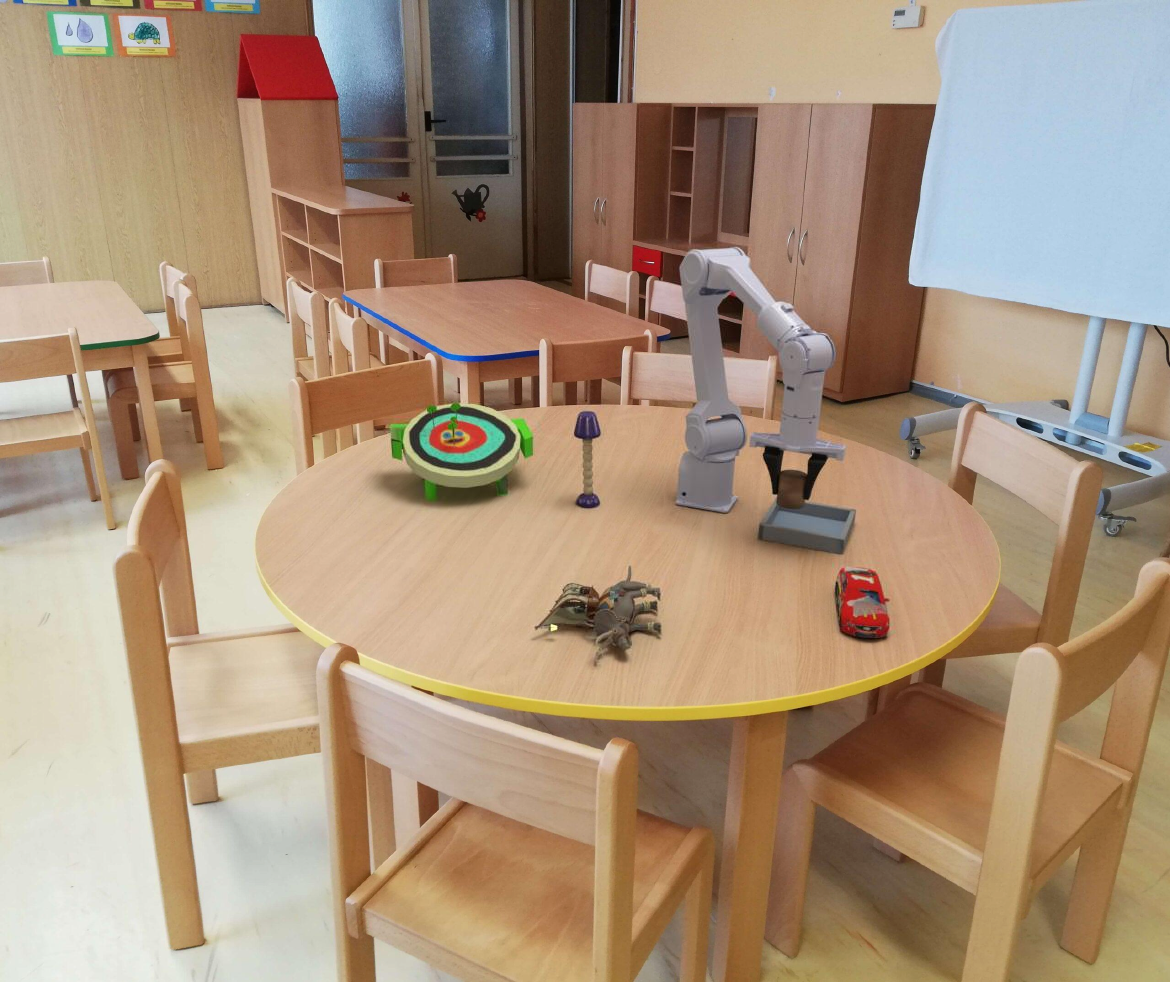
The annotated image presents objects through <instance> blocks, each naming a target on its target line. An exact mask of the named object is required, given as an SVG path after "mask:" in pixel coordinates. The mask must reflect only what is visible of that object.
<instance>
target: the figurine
mask: <svg viewBox="0 0 1170 982" xmlns="http://www.w3.org/2000/svg"><path fill="white" fill-rule="evenodd" d="M627 573H628V574H627V577H626V579H625V580H621V581H619V582H618V583H616V584H612V585H610V586H609V587H607V588H606V589H605V590H604V591H603V592H602V593H601V595H600V593H598V591H597V590H596V588H594V585H593V584H592V586H586V585H583V584H580V583H575V582H570V583H567V584H566V585H565V586H563V588H562V589H561V590H562V593H561V594H560V596H559V597H558V599H557V600H555V601H554V602H555V603H554V605H553V606H552V608H551V609H549V613H548V614H547V615H546V616H545V618H543V620H541V622H539V624H538V625H536V626H534V630H535V631H537V630H538V629H540V630H542V629H549V631H550V632H554V631H557V630H559V628H560V627H559V626H566V627H576V628H579V629H581V628H583V627H584V628H586V627H587V630H586V633H588V631H589V628H590V627H591V628H593V629H592V631H593V632H594V633H595V635H596V636H597V637H596V638H595V641H594V642H595V647H598V649H597V650H596V652H595V656H594V662H595V665H597V663H599V662H601V661H602V660H603V658H604V652H603V651H604V650H605V648H607V647H608V646H609V645H610V644H612V645H613V646H618V647H619V648H620V649H622V650H623V651H627V650H629V649H631V648H632V646H633V644H632V643H633V642H632V640H631V638H630V636H629V633H630V632H635V631H649V632H657V633H658V634H659V635H660V636H662V635H663V634H662V622H654V621H651V622H648V623H637V622H634V621H635V616H637V614H638V613H641V612H642V611H643V612H648V611H650V610H652V611H655V613H659V604H658V603H659V602H661V600H662V599H661V598H662V597H661V594H662V592H661V588H660V587H653V586H654V585H653V583H652V584H651V583H650V582H649V583H645V582H640V581H633V580H632V566H631V565H628V571H627ZM631 580H632V581H631ZM647 595H652V597H657V600H658V601H657V600H654V601H653V600H652V601H648V600H644V601H642V602H641V603H638V604H636V601H635V599H638V598H642V599H644V598H647ZM603 639H605V641H603V643H601V645H600V644H599V643H598V642H601V640H603ZM600 654H602V655H601V656H602V657H601V659H598V657H599V655H600Z"/></svg>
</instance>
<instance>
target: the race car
mask: <svg viewBox="0 0 1170 982" xmlns="http://www.w3.org/2000/svg"><path fill="white" fill-rule="evenodd" d="M882 587H883V586H882V582H881V580H880V578H879V575H878V573H877V571H875V570H872V569H870V568H867V567H859V566H844V567H842V568H841V569H840V570H839V572H838V574H837V577H836V579H835V587H834V595H835V603H836V610H837V618H838V619H837V620H838V623H839V624H838V627H839V631H840V632H844V633H846V634H847V635H851V636H855V637H859V638H866V639H880V638H884V637H885V636H886V637H887V636H888V634H889V630H890V616H889V614H888V613H889V612H888V607H887V602H890V601H891V600H890V598H887V597H885V595H884V592H883V588H882Z"/></svg>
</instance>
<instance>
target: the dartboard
mask: <svg viewBox="0 0 1170 982" xmlns="http://www.w3.org/2000/svg"><path fill="white" fill-rule="evenodd" d="M389 430H390V443H391V444H390V445H391V458H392V459H396V460H399V461H403V457H404V460H405V461H406V462H405V463H406V465H407V466H408V467H409V468H410V469H411V470H412V471H413V472H414V474H416V475H417V476H419V477H421V478H422V480H423V482H424V492H425V493H424V496H425V497H424V498H425V500H427V501H434V500H437V499H438V489H437V486H438V485H440V486H443V487H448V488H465V489H466V488H474V487H479V486H480V487H481V486H486V485H488V484H491V483H493V482H494V483H495V482H496V485H495V487H496V488H495V489H496V495H497V496H499V497H506V496H507V495H509V494H508V491H509V490H508V489H509V487H508V486H509V484H508V483H509V482H508V474H509V473H510V472H511V471H512V470H513V469H514V468H515V466H516V464H517V463H518V461H519V458H520V452H521V453H522V455H523V457H524V459H525V460H526V459H528V458H530V457H531V456H532V457H533V456H534V435H533V433H532V431H531V429H530V428H529V426H528V424H527V421H526V420H525V419H524V418H509V417H508V416H507V415H506V414H504V413H502V412H500V411H497V410H496V409H494V408H492V407H488V406H483V405H479V404H477V403H461V402H460V403H459V402H456V401H455V402H454V403H449V404H448V403H447V404H439V405H437V406H436V405H434V404H433V403H431V405H428V407H427V408H426V410H423V411H422V412H420V413H419V414H418V415H417V416H415V417H413V418H412V419H411V420H410V422H409V423H393V424H391V423H390V424H389Z"/></svg>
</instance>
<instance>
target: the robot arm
mask: <svg viewBox="0 0 1170 982" xmlns="http://www.w3.org/2000/svg"><path fill="white" fill-rule="evenodd" d="M678 269H679V277H680V284H681V291H682V298H683V302H684V307H685V314H686V324H687V331H688V339H689V348H690V354H691V355H690V356H691V363H692V364H691V365H692V370H693V378H694V385H695V393H696V394H695V395H696V400H697V402H696V404H695V405H694V406H693V407H692V409H690V410H689V411H688V413H687V414H686V416H685V421H686V422H685V423H686V424H685V425H686V426H685V427H686V428H685V433H684V442H685V446H686V448H687V450H686V451H684V452H683V454H682V455H681V457H680V461H679V467H678V475H677V476H678V477H677V493H676V501H675V505H679V506H682V507H683V506H684V507H688V508H689V507H690V508H695V509H701V510H702V509H703V510H706V511H712V512H718V513H725V514H726V513H728V512H730V510H731V508H732V507H733V506H734V505H735V503H736V502H737V500H738V499H739V496H738V495H736V494H733V488H734V479H735V477H734V475H735V467H736V466H735V465H736V457H739V456H740V451H741V450H743V448H745V446H746V444H747V440H748V429H747V426H746V423H745V421H744V419H743V415H742V409H741V408H740V406H739V405H737V404H736V403H734V402H733V401H732V400H731V399H729V393H728V385H727V376H726V368H725V360H724V352H723V344H722V336H721V335H722V334H721V329H720V321H719V311H718V307H719V306H720V304H721V303H722V301H723V300H724V299H726V298H727V297H728V296H729V295H730V294H734V295H735V296H736V297H737V298H738V299H739V300H740V301H741V302H742V303H743V304H744V305H745V306H746V307H747V309H749V310H750V311H751V312H752V313H753V314H754V315H756V316H757V322H756V323H757V324H756V326H757V328H758V330H759V331H760V333H762V335H763V336H764V337H765V338H766V339H767V341H769V343H770V344H771V345H772V347H774V348H775V350H777V352H778V361H779V365H780V367H781V371H782V377H781V380H782V381H783V385H784V388H783V389H784V390H783V400H782V407H781V414H780V415H781V417H780V427H779V433H773V432H772V433H771V432H769V433H767V432H758V431H757V432H755V431H753V432H752V433H751V434H750V435H749V444H748V446H749V448H755V449H756V448H757V447H758V448H763V453H762V459H763V462H764V463H765V466H766V468H767V471H768V474H769V475H768V476H769V478H770V482H771V490H772V492H771V493H772V495H774V496H777V492H778V483H779V473H780V472H781V471H782V465H783V459H784V453H785V452H789V453H798V454H804V455H809V456H810V457H809V458H808V460H807V473H806V474H807V482H806V488H805V493H804V500H805V501H809V500H810V498H811V496H812V492H813V488H814V485H815V483H816V481H817V478H818V476H819V474H820V472H821V471H822V469H823V467H825V465H826V463H827V461H828V459H835V460H836V461H839V462H842V461H844V459H845V457H846V447H847V446H846V445H845V444H838V443H835V442H831V441H826V440H822V439H820V438H818V432H819V424H820V423H819V422H820V414H821V408H822V399H823V390H824V382H825V375H826V374H825V373H826V372H827V371H828V370H830V369H831V368H832V367H833V365H834V363H835V360H836V348H835V344H834V342H833V341H832V339H831V338H830V336H829V335H828V334H827V333H825V332H817V331H816V330H815V329H814V330H812V329H811V327H810V325H808V324H806V323H805V322H804V320H803V319H802V318H801V317H800V316H799V315H798V314H797V312H796V311H794V308H795V307H794V306H793V305H792V303H790V302H789V303H787V302H784V301H776V300H774V298H773V297H772V295H771V294H770V293H769V291H768V290H767V289H766V287H765V286H764V285H763V284H762V282H761V281H760V279H759V278H758V277H757V276H756V274H755V273H754V271H753V270H752V262H751V258H750V257H748V255H746V253H745V252H744V250H742V249H741V248H740V247H737V246H734V247H733V246H732V247H729V248H728V247H727V248H712V249H711V248H709V249H698V248H697V249H690V250H689V251H687V253H686V254H685V256H684V258H683V260H682V262H681V263H680V265H679V268H678ZM713 417H718V418H713ZM710 418H711V419H710ZM712 418H713V419H712Z"/></svg>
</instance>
